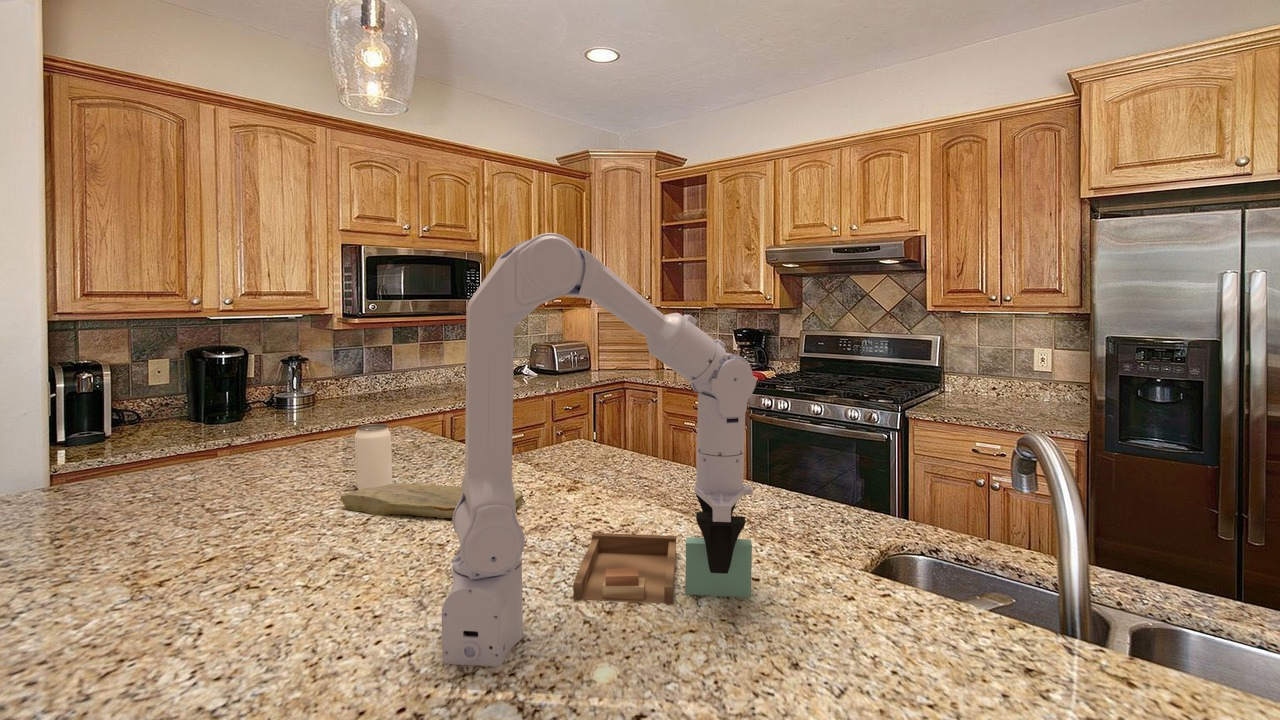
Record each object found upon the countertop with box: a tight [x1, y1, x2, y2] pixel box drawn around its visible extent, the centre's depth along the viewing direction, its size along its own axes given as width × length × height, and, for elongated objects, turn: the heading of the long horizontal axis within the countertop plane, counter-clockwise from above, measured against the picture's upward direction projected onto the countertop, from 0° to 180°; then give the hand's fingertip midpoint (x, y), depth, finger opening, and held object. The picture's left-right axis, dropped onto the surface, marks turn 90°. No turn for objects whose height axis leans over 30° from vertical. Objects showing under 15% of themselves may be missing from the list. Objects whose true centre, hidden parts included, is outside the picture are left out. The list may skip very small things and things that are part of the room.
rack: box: [572, 532, 677, 605], centre depth 83 cm, size 15×12×3 cm
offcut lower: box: [603, 577, 645, 600], centre depth 78 cm, size 2×5×2 cm, turn 85°
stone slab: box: [340, 482, 524, 520], centre depth 112 cm, size 12×4×30 cm
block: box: [684, 536, 753, 598], centre depth 78 cm, size 2×8×7 cm, turn 85°
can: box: [354, 423, 393, 490], centre depth 123 cm, size 6×6×12 cm
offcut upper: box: [606, 568, 639, 586], centre depth 77 cm, size 2×4×1 cm, turn 93°
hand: (717, 558), depth 78 cm, fingers open, 7 cm apart
